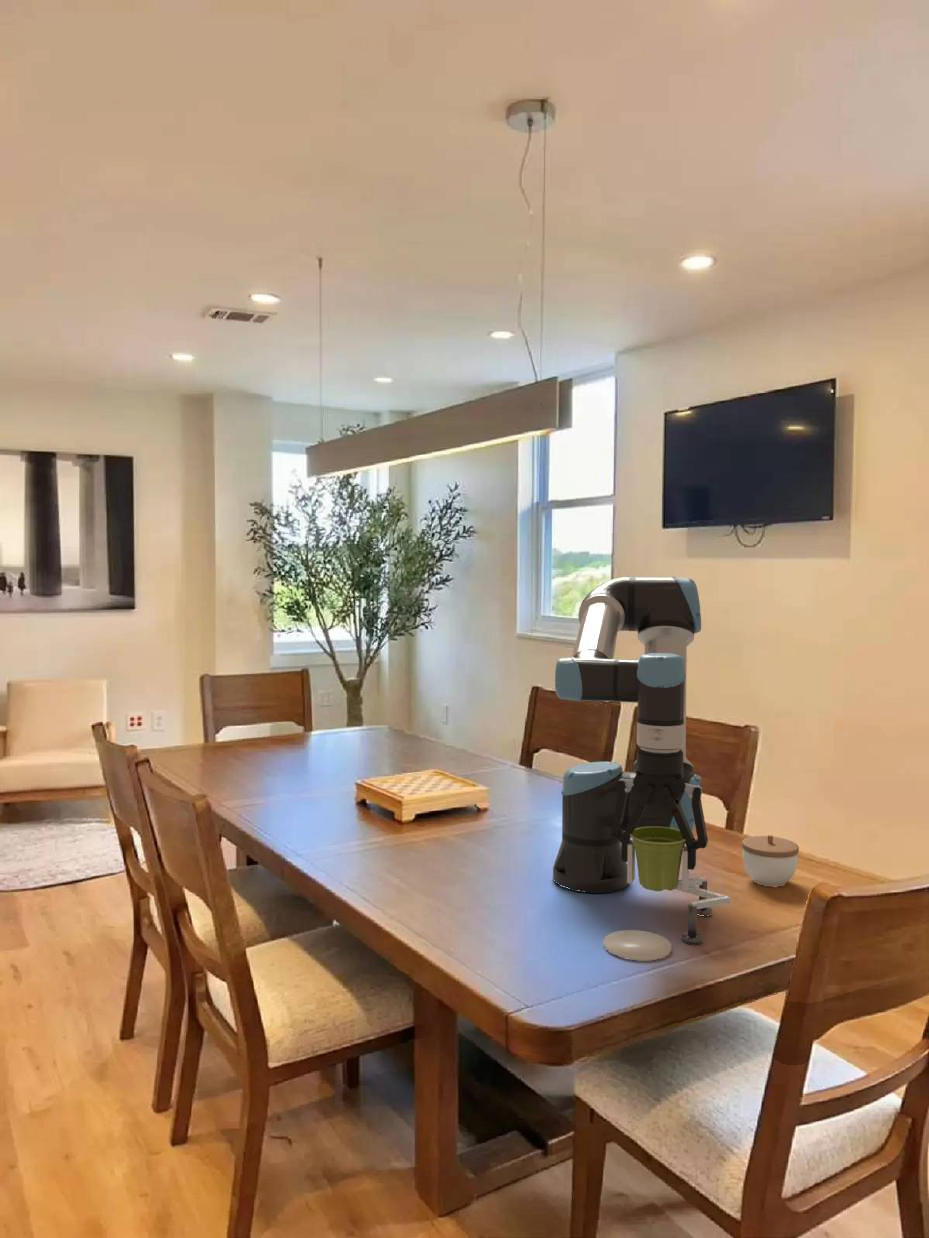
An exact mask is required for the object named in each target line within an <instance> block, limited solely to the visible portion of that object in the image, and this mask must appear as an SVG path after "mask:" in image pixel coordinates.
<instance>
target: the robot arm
mask: <svg viewBox="0 0 929 1238" xmlns="http://www.w3.org/2000/svg"><path fill="white" fill-rule="evenodd" d="M699 596H700V595H699V591H698V587H697V584H696V582H695V581H694V580H693V579H692V578H689V577H676V576H671V577H670V576H669V577H667V576H666V577H665V576H664V577H663V576H662V577H659V576H657V577H654V576H653V577H651V576H650V577H648V576H647V577H642V576H641V577H636V576H635V577H634V576H632V577H630V576H622V577H616V578H613V579H610V580H607V581H605V582H603V583H601V584H599V585H598V586H596V587H595V588H593V589H592V590H591V591H590V592H588V594H586V596H585V597H584V598H583V600H582V601H581V604H580V607H579V609H578V615H577V617H578V622H579V624H580V626H579V628H578V632H577V637H576V640H575V644H574V649H573V650H572V651H573V652H572V656H569V657H562V658H559V659H558V660H557V661H556V664H555V672H554V673H555V674H554V687H555V688H554V689H555V694H556V696H557V697H558V698H559V699H560V700H567V701H574V702H614V703H615V702H616V703H637V717H636V719H637V722H636V745H637V746H638V748H637V750H636V760H635V761H634V763H633V770H632V771H624V768H623V767H622V765H621V764H620V763H619V762H615V761H614V762H613V761H592V762H586V763H581V764H577V765H573V766H571V767H570V768H567V770H566V771H565V772H564V773H563V777H562V790H561V795H562V804H561V805H562V806H561V807H562V809H561V810H562V816H561V817H562V818H561V820H562V821H561V823H562V824H561V843H560V846H559V848H558V852H557V854H556V859H555V861H554V864H553V867H552V880H553V879H554V880H555V882H557V883H559V884H560V885H562V886H565V887H568V888H570V889H573V890H580V891H585V892H594V893H593V894H607V892H608V893H614V892H618V891H620V890H623V888H624V889H626V888H627V887H628V884H630V885H632V884H633V882H634V881H635V880H636V879H635V876H636V851H635V846H634V844H633V839H632V838H631V837H630V834H632V833H633V832H634V830H635V829H637V828H641V827H668V828H673V829H677V830H680V832H681V835H682V837H683V839H686V841H685V846H684V848H683V851H682V858H681V863H682V864H681V865H682V867H681V879H682V890H684V891H687V889H688V886H689V879H690V870H691V871H692V870H694V871H695V867H696V865H697V850H699V849H705V848H706V847H707V845H708V842H709V839H708V833H707V827H706V821H705V815H704V809H703V803H702V793H703V789H704V788H703V785H701V783H702V782H701V781H702V777H701V776H700V775H698V774H694V764H692V762H691V761H690V760H689V759H688V758H687V757H686V755H687V754H686V753H687V747H686V746H687V660H688V659H687V657H688V656H687V653H688V652H687V649H688V648H687V647H688V646H689V645H691V644H692V643H693V642H694V640H695V634H697V633H700V632H701V631H702V616H701V603H700V602H701V601H700V597H699ZM625 631H626V632H637V640H638V641H639V642H640V643H641V645H644V653H643V654H641V655H640V656H639V657H638V659H627V658H626V659H623V658H622V659H620V658H614V656H615V653H616V652H615V650H616V646H617V645H616V643H617V637H618V633H619V632H625ZM694 829H695V831H696V837H697V838H695V835H694V833H693V831H694ZM554 880H553V881H554ZM555 882H554V883H555ZM626 886H627V887H626ZM573 890H572V891H573ZM617 890H618V891H617ZM613 891H614V892H613ZM585 892H584V893H585ZM596 892H597V893H596Z"/></svg>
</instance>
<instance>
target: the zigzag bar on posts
mask: <svg viewBox="0 0 929 1238" xmlns="http://www.w3.org/2000/svg"><path fill="white" fill-rule="evenodd" d="M697 886H698V887H697ZM675 890H677V891H679V892H684V893H687V894H691V895H695V896H698V900H693V901H689V902H688V905H687V906H688V907H687V908H688V910H687V932H684V933H683V934H682V936H681V937H682V938H681V940H683V941H684V942H686V943H685V944H687V943H689V944H688V945H691V944H698V945H700V944H699V943H701V942H702V943H703V936H702V935H701V934H700V933H698V931H697V929H698V928H697V927H698V925H697V923H698V921H697V920H698V916H697V914H699V915H704V916H707V915H710V914H712V915H713V909H712V908H711V907H717V906H724V905H728V904H731V902H732V900H731V899H732V898H731V896H728V895H726V894H722V893H718V892H714V891H712V890H711V891H710V890H708V880H707V878H706V877H703V876H700V877H692V878H691V877H689V886H688V889H687V891H684V890H682V878H681V879H678V885H677V888H676V889H675ZM683 941H682V942H683ZM684 942H683V943H684ZM702 943H701V944H702Z"/></svg>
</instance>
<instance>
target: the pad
mask: <svg viewBox="0 0 929 1238" xmlns="http://www.w3.org/2000/svg"><path fill="white" fill-rule="evenodd" d="M603 944H604V945H603V948H604V947H605V948H606V949H607V950H608V951H610V952H611V953H612V954H614V955H617V956H619V957H621V958H620V959H622V958H628V959H630V960H629V961H632V960H637V961H636V962H653V961H652V960H656V961H658V960H657V959H660V960H662V959H661V958H663V959H665V958H667V957H668V956H670V954H671V953H672V943H671V942H670V941H669V940H668V939H667V938H666V937H664V936H662V935H660V934H657V933H655V932H650V931H647V930H646V931H645V930H640V929H639V930H638V929H626V930H625V929H624V930H623V929H622V930H618V931H613V932H611V933H608V934H607V935H606V936H605V937H604V938H603ZM605 948H604V949H605ZM670 952H671V953H670ZM612 954H611V955H612ZM614 955H613V956H614ZM666 956H667V957H666ZM619 957H618V958H619Z"/></svg>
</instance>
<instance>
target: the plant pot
mask: <svg viewBox="0 0 929 1238" xmlns="http://www.w3.org/2000/svg"><path fill="white" fill-rule="evenodd" d="M630 837H631V838H630V839H631V840H633V844H634V846H635V859H636V865H637V872H638V873H637V874H638V881H639V882H638V883H639V885H640V886H642V888H644V889H645V890H649V891H654V892H662V891H665V890H666V891H671V892H672V891H674V890H676V888H677V885H678V880H679V878H680V871H681V865H682V864H681V863H682V854H683V849H684V847H685V846H686V844H685V841H686V839H683V837H682V835H681V832H680V830H677V829H673V828H668V827H641V828H637V829H635V830H634V832H633V833H632V834H630Z"/></svg>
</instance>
